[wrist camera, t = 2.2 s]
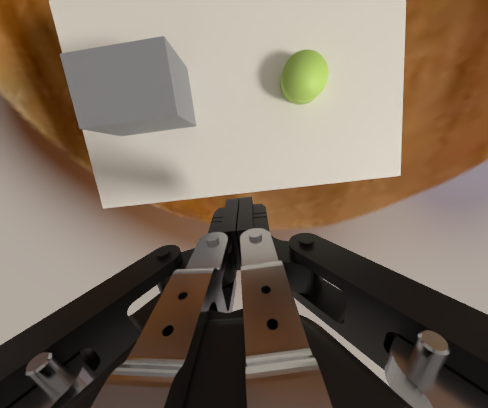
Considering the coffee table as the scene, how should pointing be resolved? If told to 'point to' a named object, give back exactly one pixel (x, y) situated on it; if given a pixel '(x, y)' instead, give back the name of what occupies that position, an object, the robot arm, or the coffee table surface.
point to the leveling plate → (233, 93)
